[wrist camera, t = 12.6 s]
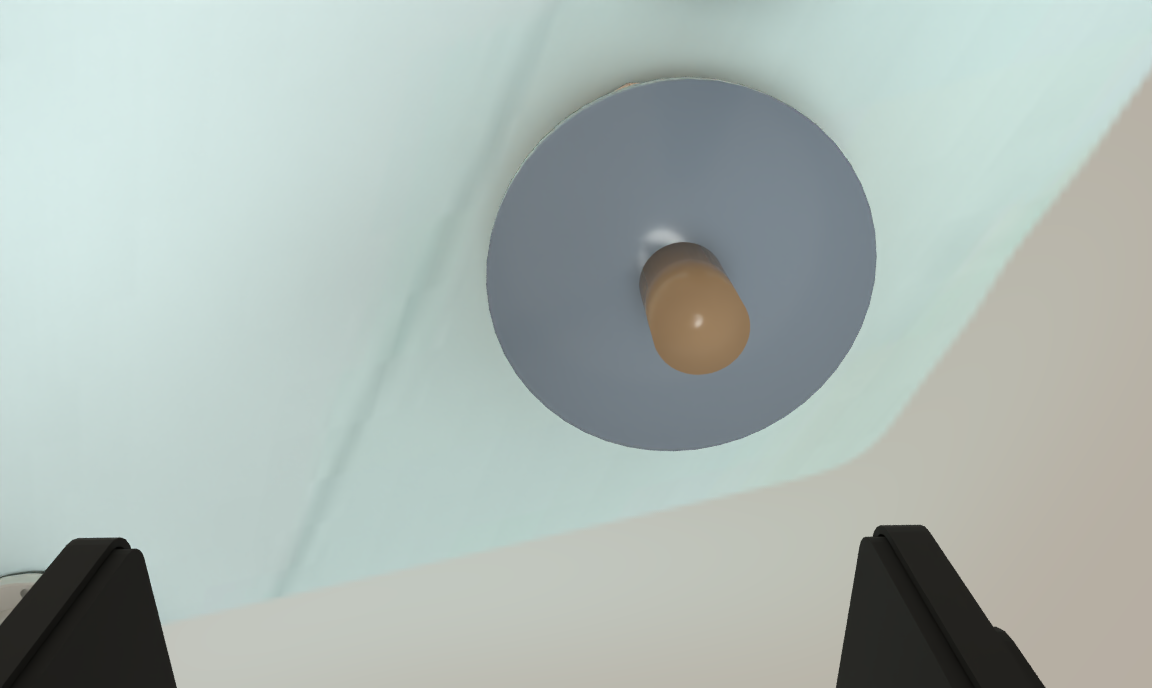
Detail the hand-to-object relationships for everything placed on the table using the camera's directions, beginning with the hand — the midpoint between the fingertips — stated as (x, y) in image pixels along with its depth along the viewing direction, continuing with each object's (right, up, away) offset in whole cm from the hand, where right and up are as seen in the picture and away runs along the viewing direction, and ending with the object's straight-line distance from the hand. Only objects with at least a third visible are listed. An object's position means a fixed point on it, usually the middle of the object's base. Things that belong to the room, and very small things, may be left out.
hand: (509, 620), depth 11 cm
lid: (+5, +7, +25) cm, 26 cm away
